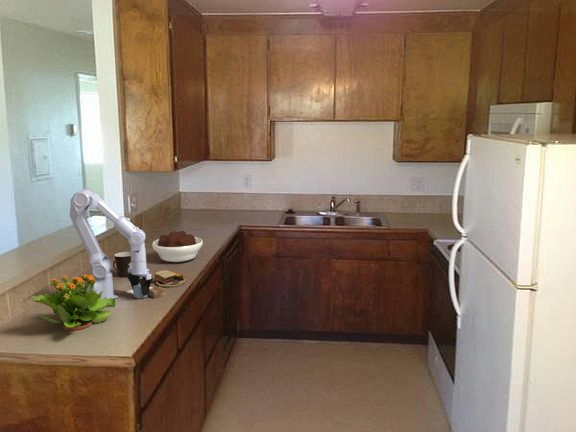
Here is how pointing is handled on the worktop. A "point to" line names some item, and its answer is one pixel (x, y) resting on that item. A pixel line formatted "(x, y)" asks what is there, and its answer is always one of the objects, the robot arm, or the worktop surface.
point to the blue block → (138, 292)
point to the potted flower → (76, 303)
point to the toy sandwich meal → (168, 279)
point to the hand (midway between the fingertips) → (140, 293)
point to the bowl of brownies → (177, 246)
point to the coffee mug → (122, 263)
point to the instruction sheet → (132, 291)
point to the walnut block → (157, 292)
